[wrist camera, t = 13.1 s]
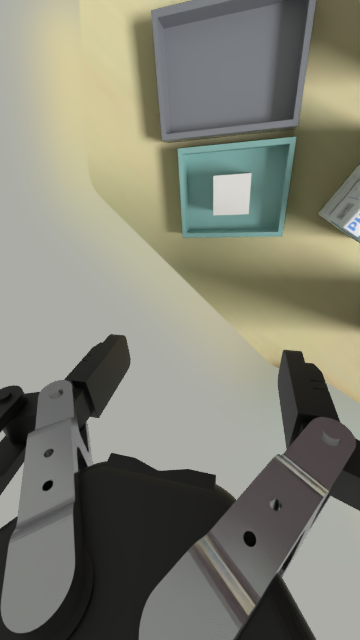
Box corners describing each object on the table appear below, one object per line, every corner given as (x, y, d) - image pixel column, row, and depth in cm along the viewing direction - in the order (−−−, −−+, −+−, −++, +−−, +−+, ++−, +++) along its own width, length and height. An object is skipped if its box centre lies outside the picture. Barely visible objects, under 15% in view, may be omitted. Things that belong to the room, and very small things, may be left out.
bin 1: (313, -11, 24) (320, -31, 22) (293, 129, 30) (298, 125, 27) (159, 24, 28) (151, 10, 25) (168, 142, 33) (161, 140, 31)
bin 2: (292, 139, 30) (296, 136, 28) (279, 231, 36) (282, 236, 33) (182, 150, 33) (177, 148, 31) (186, 233, 39) (182, 237, 37)
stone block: (251, 172, 32) (251, 173, 29) (248, 209, 35) (248, 214, 31) (217, 175, 34) (213, 175, 30) (216, 210, 36) (213, 215, 32)
